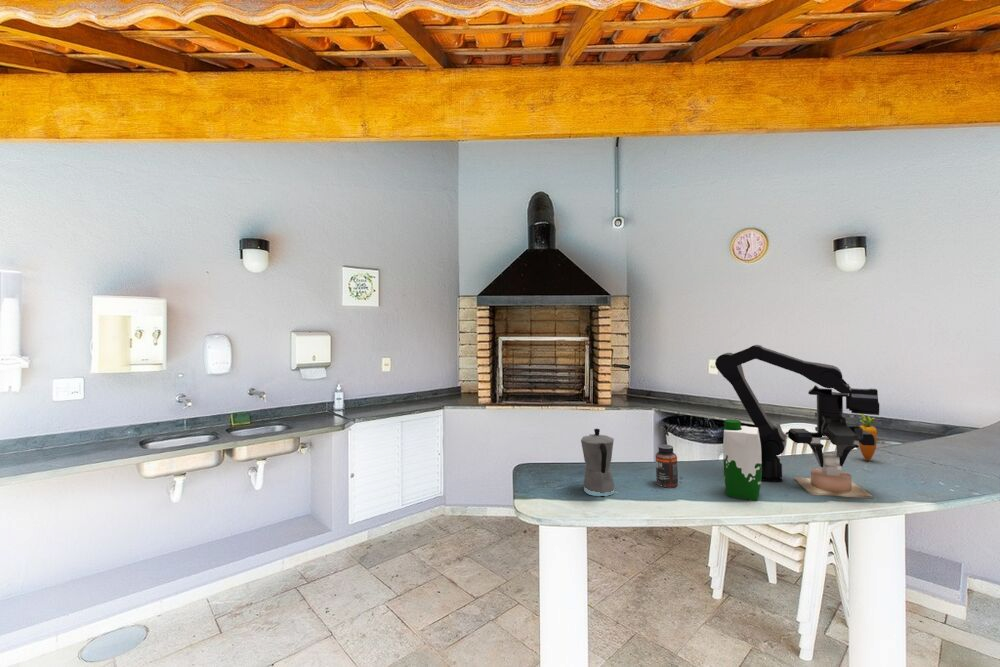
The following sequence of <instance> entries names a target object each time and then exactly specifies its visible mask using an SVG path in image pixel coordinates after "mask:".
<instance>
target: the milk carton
mask: <svg viewBox="0 0 1000 667" xmlns="http://www.w3.org/2000/svg"><path fill="white" fill-rule="evenodd" d="M723 422H724V423H723V425H724V426H723V444H722V448H723V453H722V455H723V456H722V457H723V478H724V484H725V491H726V497H729V498H736V499H741V500H742V499H743V500H749V501H753V502H755V501H756V502H758V500H759V494H760V489H761V484H762V480H761V477H762V458H761V443H760V437H759V431H758V428H756V427H755V426H748V425H742V422H741V420H739V419H731V418H730V419H729V418H727V419H726V418H725V419H724V421H723Z"/></svg>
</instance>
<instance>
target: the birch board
mask: <svg viewBox="0 0 1000 667" xmlns="http://www.w3.org/2000/svg"><path fill="white" fill-rule="evenodd" d="M793 479H794V481H795V482H796V483H797V484H798V485H799V486H800V487H802V488H803V489H804V490H805V491H806V492H807V493H808V494H811V495H812V496H814V495H815V496H830V497H831V496H832V497H843V498H845V497H846V498H849V497H850V498H863V499H873V495H872V494H870V493H869V492H868V491H866V490H865V489H863V488H862V487H860V486H859V485H857V484H856V483H855V482H853V481H852V490H851V491H850V492H845V493H838V492H830V491H825V490H822V489H819V488H816V487H814V486H813V485H812V484H811V477H797V476H796V477H795V476H793Z"/></svg>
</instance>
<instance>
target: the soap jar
mask: <svg viewBox="0 0 1000 667" xmlns="http://www.w3.org/2000/svg"><path fill="white" fill-rule="evenodd" d="M810 478H811V484H812V485H813V486H814V487H816V488H819V489H822V490H825V491H830V492H838V493H845V492H850V491H851V490H852V482H853V479H852V478H853V477H852V475H851V474H850V473H848V472H846V471H842V470H841V469H836V468H835V467H833V466H827V465H824V464H823V467H816V468H815V467H814V468H811V470H810Z"/></svg>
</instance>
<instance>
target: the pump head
mask: <svg viewBox="0 0 1000 667" xmlns="http://www.w3.org/2000/svg"><path fill="white" fill-rule="evenodd" d="M823 464H824V465H827V466H833V467H835V468H836V469H840V470H842V469H843V466H840V457H839V456H837V454H834V453H833V454H832V453H823Z"/></svg>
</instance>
